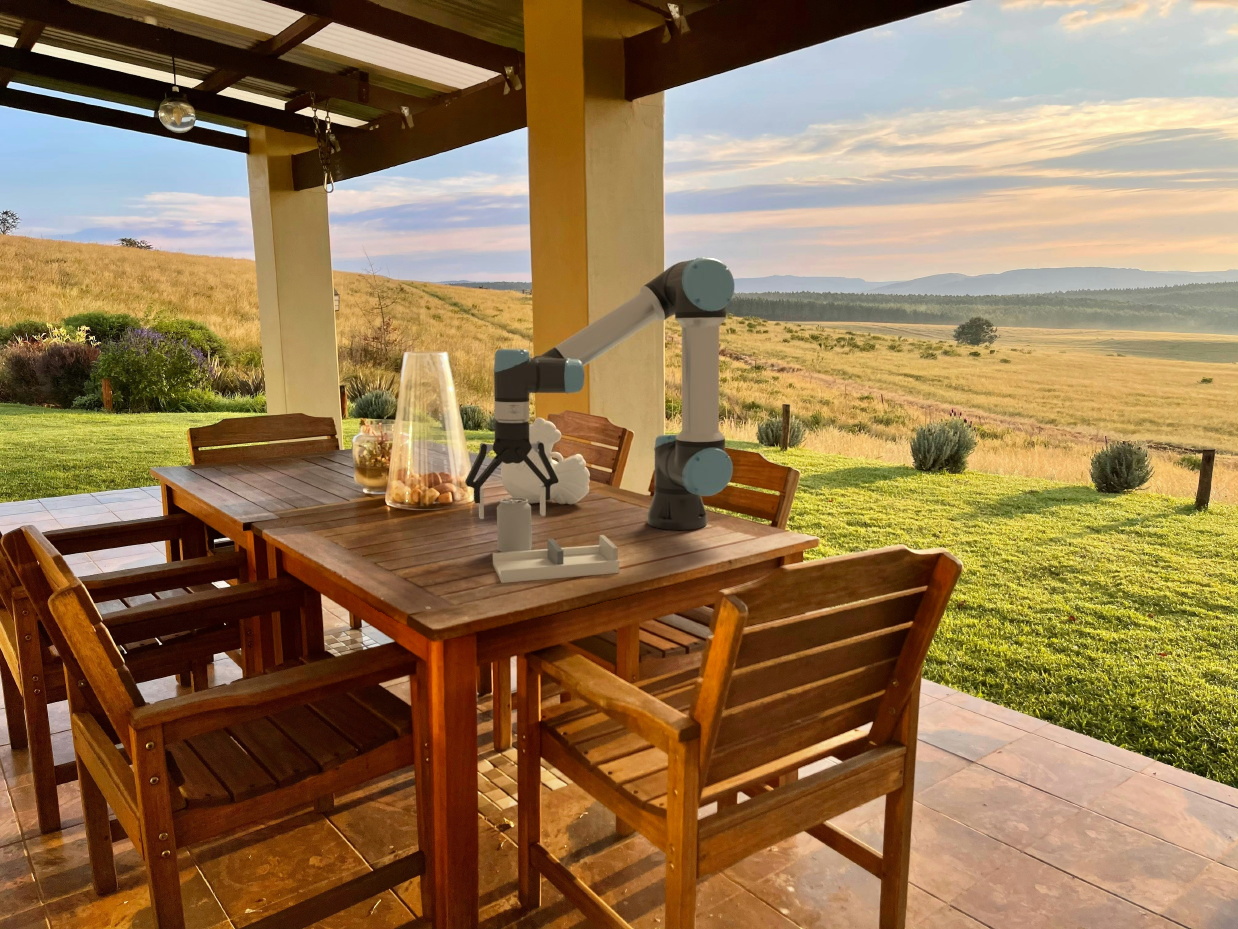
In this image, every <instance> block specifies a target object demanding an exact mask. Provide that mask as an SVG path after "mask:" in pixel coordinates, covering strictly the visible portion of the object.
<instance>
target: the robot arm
mask: <svg viewBox="0 0 1238 929" xmlns="http://www.w3.org/2000/svg"><path fill="white" fill-rule="evenodd" d="M734 293H735V280H734V276H733V274H732V272H731V270H730V269H729V268H728V266H727V265H726V264H725V263H724V262H722V261H720V260H719V259H717V258H712V257H696V258H693V259H691V260H686V261H685V260H684V261H679V262H677V263H674V264H673V265H671V266H670V267H668V268H666V269H665V270H664V271H663V272H661V273H660V274H659V275H657V276H655V278H653V279H652V280H650V281H648V282H647V283H646V284H644V285H643V286H641V287H640V290H639V293H637V294H636V295H635V296H633V297H631V298H630V299H629V300H627V301H625V302H624V303H622V304H620V305H619V306H617V307H615V308H614V309H612V310H611V311H609V312H608V313H606V314H604V315H603V316H601V317H600V318H598V319H596V320H595V321H593V322H591V323H590V324H588V325H587V326H585V327H584V328H582V329H580V330H578V331H577V332H576V333H574V334H572V335H571V336H569V337H568V338H566V339H565V340H563V341H562V342H560V343H558V344H557V345H555V346H554V347H552V348H551V349H548V350H547V351H546V352H543V353H542V354H540V355H535V356H534V357H531V355H530V351H529V350H528V349H525V348H521V349H520V348H519V349H518V348H499V349H498V350H496V351H495V353H494V362H493V363H494V365H493V366H494V367H493V384H494V385H493V386H494V392H493V393H494V401H493V402H494V403H493V404H494V406H493V409H494V411H493V413H494V414H493V415H494V417H493V418H494V419H495V420H496V421H495V422H494V441H493V444H491V443H485V442H480V444H479V452H478V454H477V456H476V458H475V461H474V462H473V464H472V466H471V467H470V468H471V469H470V471H469V472H468V475H467V477H466V478H465V481H464V483H465V486H466V487H470V488H472V489H473V502H474V503H475V504H478V517H479V519H480V520H484V519H485V508H484V507H485V501H484V500H485V499H484V498H485V497H484V495H485V494H484V493H485V492H484V491H485V490H484V488H483V487H482V486H483V485H484V483H485V482H487V480H488V478H489V477H490V476H491V475H493V473H494V472H495V471H496V469H497V468H498V467H499V466H501V465H502V463H505V464H510V463H516V464H517V463H521V462H522V461H524V462H525V463H526V464H527V465H528V466H529V467H530V469H531V470H532V471H533V472H534V473H535V474H536V475H537V477H538V478H539V479H540V480H541V481H542V482H543V483H544V485H540V503H539V515H540V516H541V517H546V515H547V512H546V506H547V505H546V504H547V503H546V502H547V501H546V500H550V486H551V485H552V484H555V483H558V481H559V480H558V478H557V476H556V474H555V472H554V470H553V468H552V466H551V464H550V462H549V460H548V458H547V456H546V454H545V451H544V444H543V443H542V442H540V441H538V442H537V443H532V444H531V443H530V441H529V425H530V423H529V421H527V420H529V419H530V394H537V393H538V394H567V395H568V394H575V393H576V394H577V393H579V392H581V391H582V390H583V388H584V384H585V366H587V365H588V364H590V363H591V362H593V361H595V359H597V358H599V357H600V356H602V355H604V354H605V353H607V352H608V351H610V350H612V349H613V348H614V347H616V346H618V345H620V344H621V343H623V342H625V341H626V340H628V339H629V338H631V337H633V335H635V334H637V333H638V332H640V331H641V330H643V329H645V328H647V327H648V326H650V325H652V323H655V322H664V321H665V320H667V319H669V318H670V317H672V316H674V319H675V321H676V322H677V323H678V325H680V327H681V431H680V432H679V433H678V434H676V433H675V434H661V435H658V436H656V438H655V440H654V442H655V444H654V448H653V450H654V494H653V497H652V500H651V504H650V506H649V508H648V509H649V510H648V512H647V524H648V525H649V526H651V527H652V528H657V529H662V530H672V531H676V530H677V531H686V530H697V529H701V528H703V527H706V525H707V523H708V522H707V521H708V515H707V511H706V508H705V505H704V502H703V498H702V497H710V496H714V495H715V496H716V494H718V493H720V492H722V491H723V489H725V488H726V487H727V486H728V484H729V483H730V481H731V479H732V476H733V471H734V468H733V466H734V465H733V462H732V459H731V457H730V456H729V454H728V453H727V452H726V436H725V435H724V434H723V433H722V432H721V431H720V429H719V428H720V427H719V426H720V424H719V423H720V422H719V421H720V419H719V418H720V416H719V414H720V412H719V410H720V407H719V406H720V405H719V404H720V402H719V401H720V399H719V398H720V326H721V325H722V324H723V323H724V322H725V320H726V319H727V305H728V304H729V303H730V301H732V299H733V296H734ZM531 449H534V451H535V452H537V453H538V455H539V457H540V459H541V461H542V463H543V465H544V467H545V469H546V471H547V473H548V475H549V477H550V478H549V479H547V478H546V477H545V476H544V475H543V474H542V473H541V471H540V470H539V469H538V468H537V467H536V466H535V464H534V463H533V462H532V461H531V460H530V459H529V457H528V456H527V455H528V453H529V452H530V451H531ZM491 451H493V452H494V453H495V456H494V458H493V459H492V460H491V462H490V463H489V465H487V467H486V468H485V469H484V470H483V472H482V473H481V474H480V475H479V476H478V478H477V474H478V472H479V470H480V469H481V467H482V465H483V462H484V461H485V459H486V455H488V454H489V453H490V452H491ZM475 478H476V479H475ZM550 501H551V500H550Z"/></svg>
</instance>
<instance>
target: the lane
mask: <svg viewBox="0 0 1238 929" xmlns="http://www.w3.org/2000/svg"><path fill="white" fill-rule="evenodd" d="M598 536H599V539H598V540H599V541H598V543H599V544H596V545H595V544H594V545H582V546H580V545H579V546H569V547H567V546H566V547H560V548H561V549H562V550H563V564H558V565H553V564H552V562H551V561H550V560H549V558H548V548H544V549H543V548H541V549H530V550H527V551H513V552H500V551H499V552H492V566H493V568H494V570H495V573H496V574H497V576H498V578H499V580H500V583H501V584H504V583H516V582H517V583H518V582H528V581H529V582H530V581H539V580H552V579H563V578H574V577H575V578H576V577H585V576H586V577H587V576H598V575H610V574H619V573H620V560H619V548H618V546H617V545H615V543H613V542H612V541H611V539H609V538H608V537H607V536H606V535H605V534H599V535H598Z"/></svg>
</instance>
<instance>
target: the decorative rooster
mask: <svg viewBox="0 0 1238 929" xmlns="http://www.w3.org/2000/svg"><path fill="white" fill-rule="evenodd" d="M561 438H562V433H561V431H560V430H559V429H557V426H556V425H555V423H553V422H552V421H550V420H546V419H544V418H543V417H536V418H535V419H534V421H533V423H532V424H529V441H530V443H531V444H532V443H537V442H538V441H540V442H542V443H543V444H544V451H545V454H546V456H547V458H548V460H549V462H550V464H551V466H552V468H553V470H554V472H555V474H556V476H557V478H558V480H559V481H558V483H555V484H552V485H551V486H550V500H546V502H549V501H554V502H555V503H558V504H559V505H565V504H568V505H575V504H576V503H578V502H579V501H581V499H584V498H585V497H586V495H588V493H589V492H590V486H589V484H590V476H591V474H590V471H589V469H588V467H586V466H587V462H586V460H585V459H584V457H583V455H582V454H580V453H577V454H573V455H570V456H568V457H566V458H564V457H563V455H562V454H561V453H560V452H557V451H552V450H553V447H554V445H555V444H556V443H557V442H559V441H561ZM527 456H528V457H529V459H530V460H531V461H532V462H533V463H534V464H535V466H536V467H537V468H538V469H539V470H540V471H541V473H542V474H543V475H544V476H545V477H546V478H547V479H549V478H550V477H549V475H548V473H547V471H546V469H545V467H544V465H543V463H542V461H541V459H540V457H539V455H538V453H537V452H535V451H534V449H531V451H530V452H529V453H528V455H527ZM553 457H555V458H557V460H558V461H556V460H554V459H552V458H553ZM500 466H501V468H500V477H501V480H502V486H503V489H505V491H506V492H507V493H508V494H509V495H510V496H511V497H520V498H526V499H527V500H528V501H527V503H528V504H529V505H531V504H532V505H533V504H538V503H539V504H540V485H544V483H543V482H542V481H541V480H540V479H539V478H538V477H537V475H536V474H535V473H534V472H533V471H532V470H531V469H530V467H529V466H528V465H527V464H526V463H525V462H524V461H522V462H521V463H517V464H516V463H510V464H505V463H503V462H502V463H501V465H500Z"/></svg>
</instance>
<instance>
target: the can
mask: <svg viewBox="0 0 1238 929" xmlns="http://www.w3.org/2000/svg"><path fill="white" fill-rule="evenodd" d="M527 501H528V500H527V499H526V498H520V497H512V496H511V497H504V498H501V499H500V500H499V504H498V505H497V506H496V523H497V524H496V527H497V529H496V530H497V532H496V534H497V550H498V552H499V553H500V552H513V551H527V550H532V547H533V545H532V538H533V536H532V506H531V504H528V503H527Z"/></svg>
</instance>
